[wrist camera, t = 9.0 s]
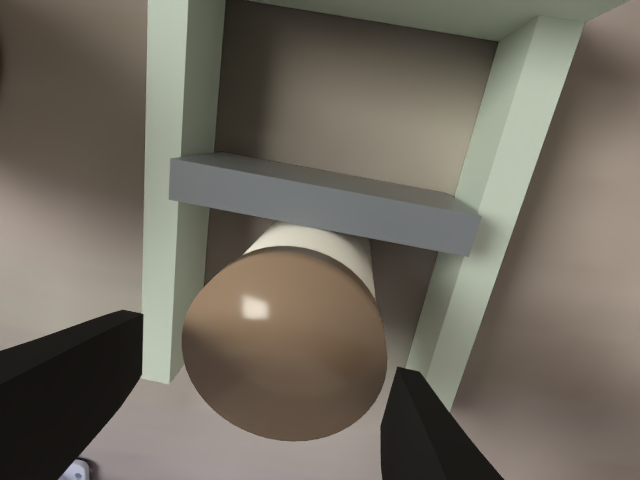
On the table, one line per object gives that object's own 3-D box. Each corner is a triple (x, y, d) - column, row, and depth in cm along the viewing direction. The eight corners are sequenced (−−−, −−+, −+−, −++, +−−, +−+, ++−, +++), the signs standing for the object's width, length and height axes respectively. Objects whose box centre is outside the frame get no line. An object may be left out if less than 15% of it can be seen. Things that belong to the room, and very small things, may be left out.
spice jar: (360, 312, 19) (362, 460, 11) (257, 290, 20) (175, 417, 11) (384, 210, 18) (411, 285, 9) (271, 188, 18) (188, 239, 9)
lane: (425, 392, 20) (459, 517, 14) (174, 339, 21) (90, 434, 14) (547, 7, 15) (708, -101, 8) (195, -48, 15) (69, -191, 9)
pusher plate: (437, 223, 17) (468, 257, 12) (219, 182, 18) (168, 199, 13) (446, 192, 17) (481, 216, 12) (221, 151, 17) (170, 158, 13)
